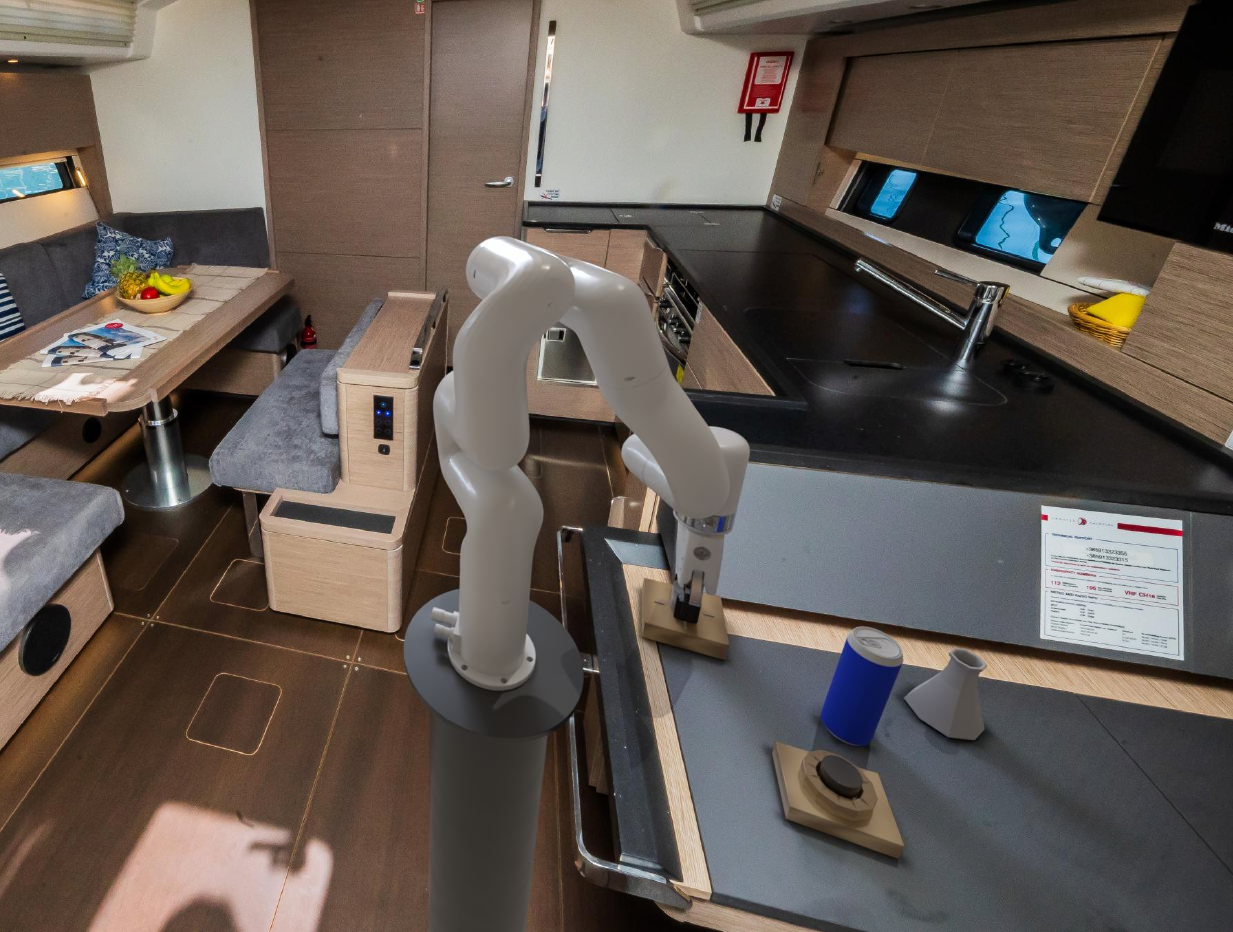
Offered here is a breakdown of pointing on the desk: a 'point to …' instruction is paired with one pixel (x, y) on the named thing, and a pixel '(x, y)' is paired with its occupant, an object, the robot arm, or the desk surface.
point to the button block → (835, 802)
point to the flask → (952, 697)
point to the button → (840, 776)
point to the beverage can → (861, 685)
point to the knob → (676, 592)
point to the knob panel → (683, 622)
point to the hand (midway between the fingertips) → (684, 607)
